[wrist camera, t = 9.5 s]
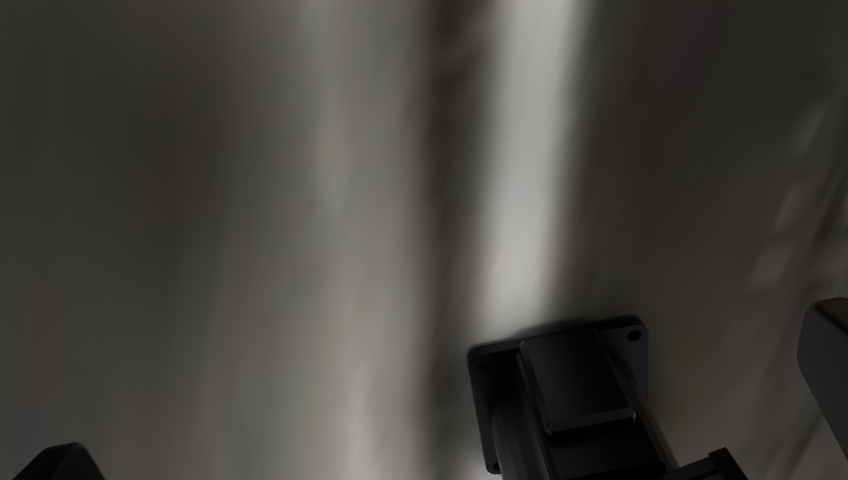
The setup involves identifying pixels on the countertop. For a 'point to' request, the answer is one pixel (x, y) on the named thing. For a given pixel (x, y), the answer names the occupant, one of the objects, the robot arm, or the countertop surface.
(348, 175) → the countertop surface
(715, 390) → the countertop surface
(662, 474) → the robot arm
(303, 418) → the countertop surface
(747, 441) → the countertop surface
